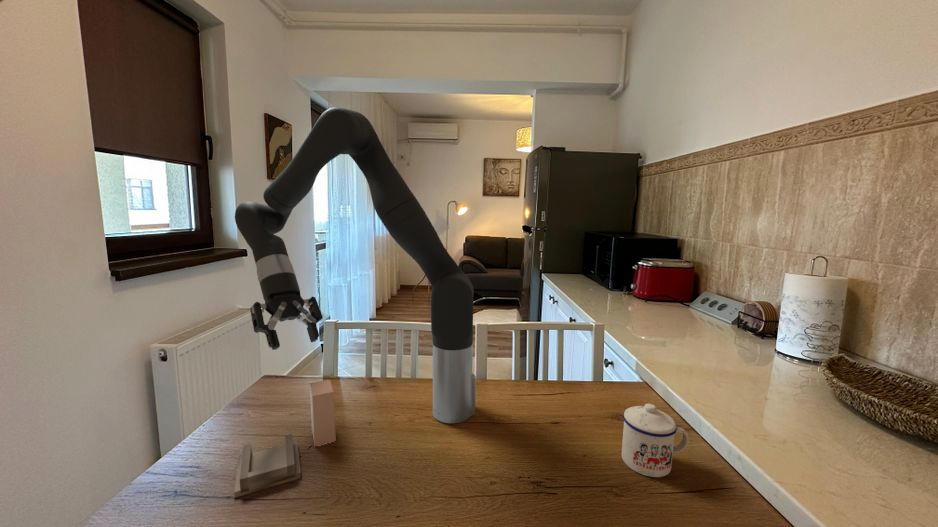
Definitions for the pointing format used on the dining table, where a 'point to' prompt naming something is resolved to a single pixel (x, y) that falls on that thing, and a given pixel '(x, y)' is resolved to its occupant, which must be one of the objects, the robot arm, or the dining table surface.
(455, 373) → the robot arm
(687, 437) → the teacup with lid
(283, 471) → the tray
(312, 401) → the clay block
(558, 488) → the dining table surface
